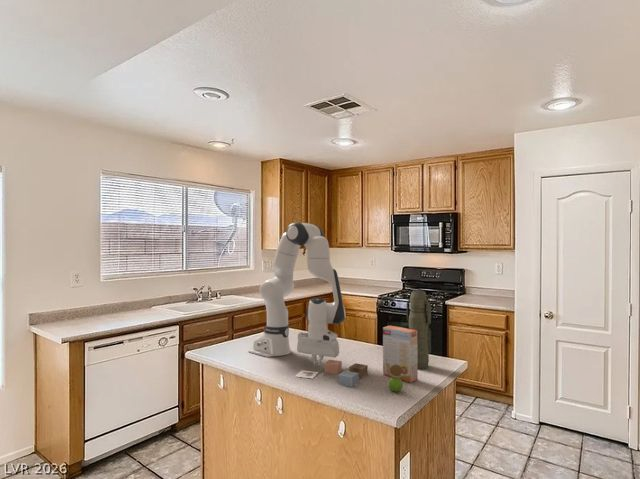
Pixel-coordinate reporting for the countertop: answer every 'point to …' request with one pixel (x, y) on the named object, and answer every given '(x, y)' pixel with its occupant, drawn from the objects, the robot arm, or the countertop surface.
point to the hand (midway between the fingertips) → (317, 364)
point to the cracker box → (400, 351)
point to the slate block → (348, 378)
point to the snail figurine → (394, 377)
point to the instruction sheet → (306, 374)
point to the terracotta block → (333, 366)
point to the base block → (359, 369)
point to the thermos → (420, 324)
